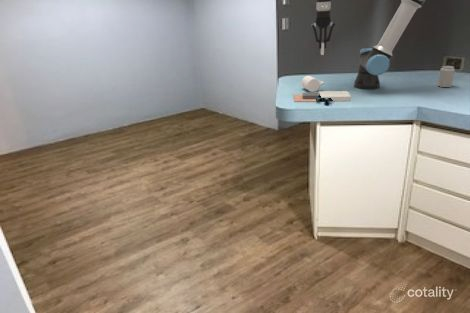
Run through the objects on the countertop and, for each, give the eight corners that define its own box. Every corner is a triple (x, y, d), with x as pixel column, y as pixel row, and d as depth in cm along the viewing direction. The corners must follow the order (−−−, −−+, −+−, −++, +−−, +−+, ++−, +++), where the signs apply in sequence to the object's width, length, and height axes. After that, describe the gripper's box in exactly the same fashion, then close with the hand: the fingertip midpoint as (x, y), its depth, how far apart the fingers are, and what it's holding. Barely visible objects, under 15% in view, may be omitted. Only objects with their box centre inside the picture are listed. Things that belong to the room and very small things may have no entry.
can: (445, 88, 217) (449, 68, 212) (434, 86, 224) (438, 66, 219) (454, 87, 220) (458, 66, 215) (443, 84, 226) (447, 64, 221)
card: (318, 96, 211) (318, 92, 211) (319, 99, 206) (319, 95, 205) (302, 96, 212) (302, 92, 212) (302, 99, 207) (303, 95, 206)
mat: (318, 95, 215) (318, 94, 215) (320, 101, 203) (320, 101, 202) (293, 95, 217) (293, 94, 217) (294, 101, 204) (294, 101, 204)
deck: (347, 95, 212) (347, 91, 211) (350, 101, 201) (350, 96, 200) (318, 95, 214) (318, 91, 213) (320, 101, 203) (320, 96, 202)
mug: (307, 92, 222) (307, 79, 218) (301, 88, 231) (301, 76, 227) (325, 90, 224) (326, 77, 220) (319, 87, 233) (319, 74, 229)
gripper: (312, 11, 198) (311, 56, 208) (336, 9, 197) (335, 54, 207) (310, 10, 205) (309, 54, 215) (334, 9, 204) (332, 52, 214)
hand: (322, 54), depth 211 cm, fingers closed
